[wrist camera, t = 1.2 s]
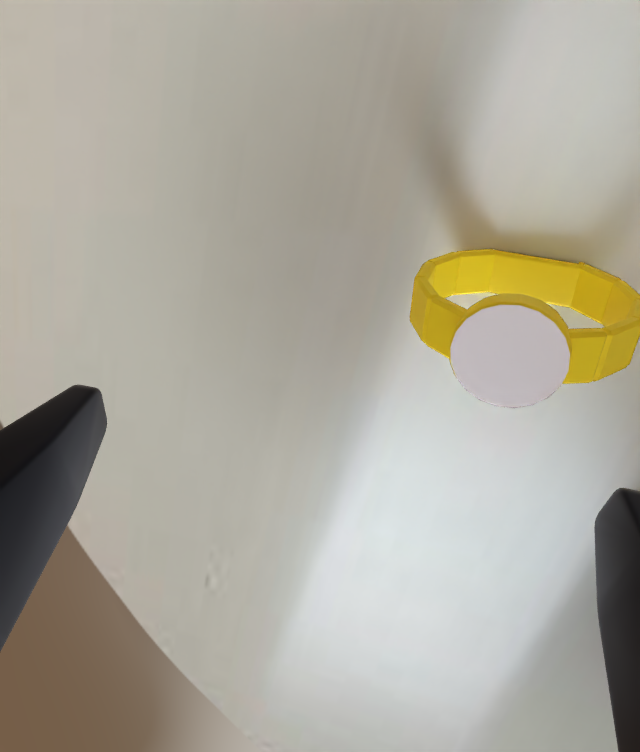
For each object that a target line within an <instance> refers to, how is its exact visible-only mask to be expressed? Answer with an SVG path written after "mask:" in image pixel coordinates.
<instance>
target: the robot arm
mask: <svg viewBox="0 0 640 752" xmlns="http://www.w3.org/2000/svg"><path fill="white" fill-rule="evenodd" d="M106 427H107V418H106V413H105V408H104V403H103V399H102V394H101V392H100V390H99V389H97V388H95V387H89V386H84V385H74V386H72V387H70V388H68V389H67V390H65V391H63V392H62V393H60V394H59V395H57V396H55V397H54V398H52V399H50V400H49V401H47V402H46V403H44V404H42V405H41V406H39V407H37V408H36V409H34V410H33V411H31V412H29V413H28V414H26V415H24V416H23V417H21V418H20V419H18V420H16V421H15V422H13V423H11V424H10V425H8V426H7V427H5V428H3V429H2V430H0V651H1V649H2V647H3V646H4V644H5V642H6V640H7V638H8V636H9V634H10V632H11V631H12V628H13V627H14V625H15V623H16V621H17V619H18V617H19V615H20V613H21V611H22V610H23V608H24V606H25V604H26V602H27V600H28V598H29V596H30V594H31V593H32V590H33V589H34V587H35V585H36V583H37V581H38V579H39V577H40V575H41V574H42V572H43V570H44V568H45V566H46V564H47V562H48V560H49V558H50V556H51V555H52V553H53V551H54V549H55V547H56V545H57V543H58V541H59V539H60V537H61V536H62V534H63V532H64V530H65V528H66V526H67V524H68V522H69V520H70V518H71V516H72V514H73V512H74V510H75V508H76V506H77V504H78V501H79V499H80V497H81V494H82V491H83V489H84V486H85V484H86V481H87V479H88V476H89V473H90V471H91V468H92V466H93V463H94V460H95V458H96V455H97V453H98V450H99V447H100V445H101V442H102V440H103V437H104V434H105V432H106ZM595 556H596V586H597V608H598V618H599V626H600V632H601V639H602V645H603V652H604V659H605V665H606V672H607V678H608V685H609V692H610V698H611V705H612V711H613V718H614V725H615V731H616V738H617V744H618V751H619V752H640V491H637V490H632V489H626V488H619V489H617V490H616V491H615V492H614V493H613V494H612V496H611V497H610V498H609V500H608V501H607V502H606V504H605V505H604V506H603V508H602V509H601V511H600V512H599V513H598V515H597V517H596V521H595Z"/></svg>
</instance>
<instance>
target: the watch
mask: <svg viewBox="0 0 640 752" xmlns="http://www.w3.org/2000/svg"><path fill="white" fill-rule="evenodd" d="M584 264H585V263H583V262H579V264H577V263H571V262H565V261H559V260H553V259H547V258H541V257H535V256H529V255H523V254H517V253H511V252H505V251H499V250H493V249H480V250H465V251H457V252H451V253H448V254H445V255H442V256H439V257H436V258H433V259H431V260H428V261H427V262H425V263H424V264H423V265H422V267H421V268H420V270H419V272H418V273H417V275H416V277H415V279H414V287H413V295H412V303H411V311H410V322H411V323H412V325H413V327H414V328H415V330H416V332H417V333H418V335H419V337H420V339H421V340H422V341H423V342H424V343H425V344H426V345H427V346H428V347H430V348H432V349H434V350H435V351H437V352H439V353H440V354H442V355H444V356H445V357H447V358H449V360H450V364H451V366H452V369H453V372H454V374H455V376H456V378H457V379H458V380H459V382H460V383H461V384H462V385H463V387H464V388H465V389H466V390H467V391H468V392H469V393H471V394H472V395H474V396H475V397H476V398H478V399H479V400H481V401H484V402H487V403H489V404H492V405H495V406H499V407H509V408H518V407H524V406H530V405H534V404H536V403H538V402H540V401H542V400H544V399H546V398H548V397H550V396H551V395H552V394H553V393H554V392H555V391H556V390H557V389H558V388H559V387H560V386H561V385H562V384H570V383H589V382H592V381H594V382H595V381H598V380H600V379H602V378H604V377H607V376H609V375H611V374H613V373H615V372H618V371H620V370H622V369H624V368H626V367H627V365H629V364H630V361H631V359H632V356H633V353H634V350H635V347H636V344H637V342H638V339H639V336H640V295H639V294H638V293H637V292H636V291H635V290H634V289H633V288H631V287H630V286H629V285H628V284H627V283H626V282H625V281H621V279H620V278H618V277H615V276H613V275H611V274H608V273H606V272H604V271H601V270H599V269H597V268H594V267H592V266H590V265H584ZM483 292H491V293H496V294H498V295H494V296H490V297H487V298H484V299H482V300H481V301H479V302H477V303H476V304H474V305H473V306H471V307H470V308H469V309H468V310H467V309H465V308H463V307H461V306H459V305H457V304H455V303H453V302H451V301H449V300H447V299H445V298H447V297H449V296H451V295H460V294H472V293H483ZM546 303H548V304H553V305H558V306H563V307H569V308H571V309H573V310H575V311H577V312H579V313H581V314H583V315H585V316H587V317H589V318H591V319H593V320H595V321H597V322H598V323H600V324H603V325H604V328H583V329H568V327H567V325H566V323H565V322H564V320H563V319H562V318H561V316H560V315H559V314H558V312H557V311H556V310H555V309H553V308H552V307H550V306H549V305H548V304H546Z"/></svg>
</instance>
